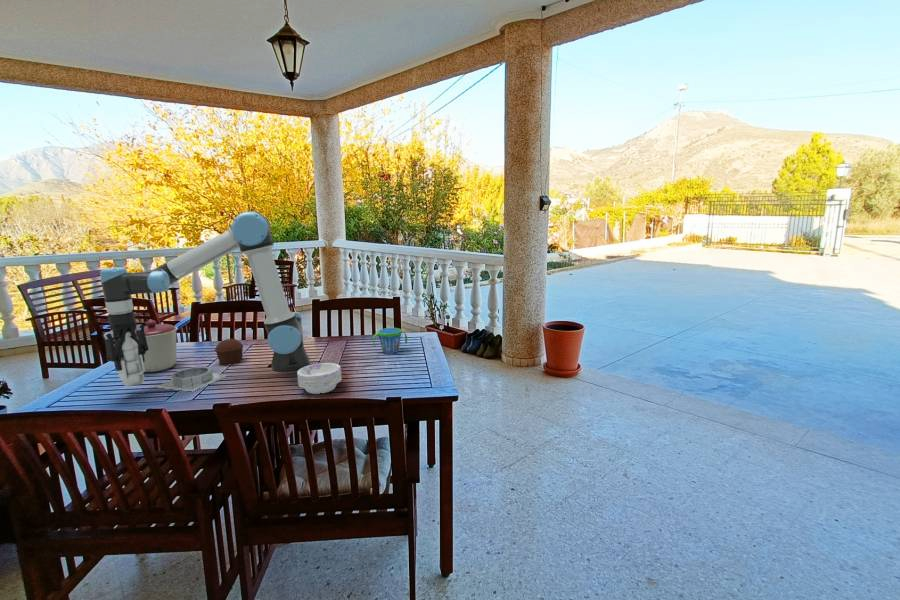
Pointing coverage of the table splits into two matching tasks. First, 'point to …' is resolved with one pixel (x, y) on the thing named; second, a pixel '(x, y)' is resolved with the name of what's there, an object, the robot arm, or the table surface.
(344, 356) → the table surface
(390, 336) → the snack cup
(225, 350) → the muffin
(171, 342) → the canister
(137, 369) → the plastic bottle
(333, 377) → the paper bowls
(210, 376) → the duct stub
